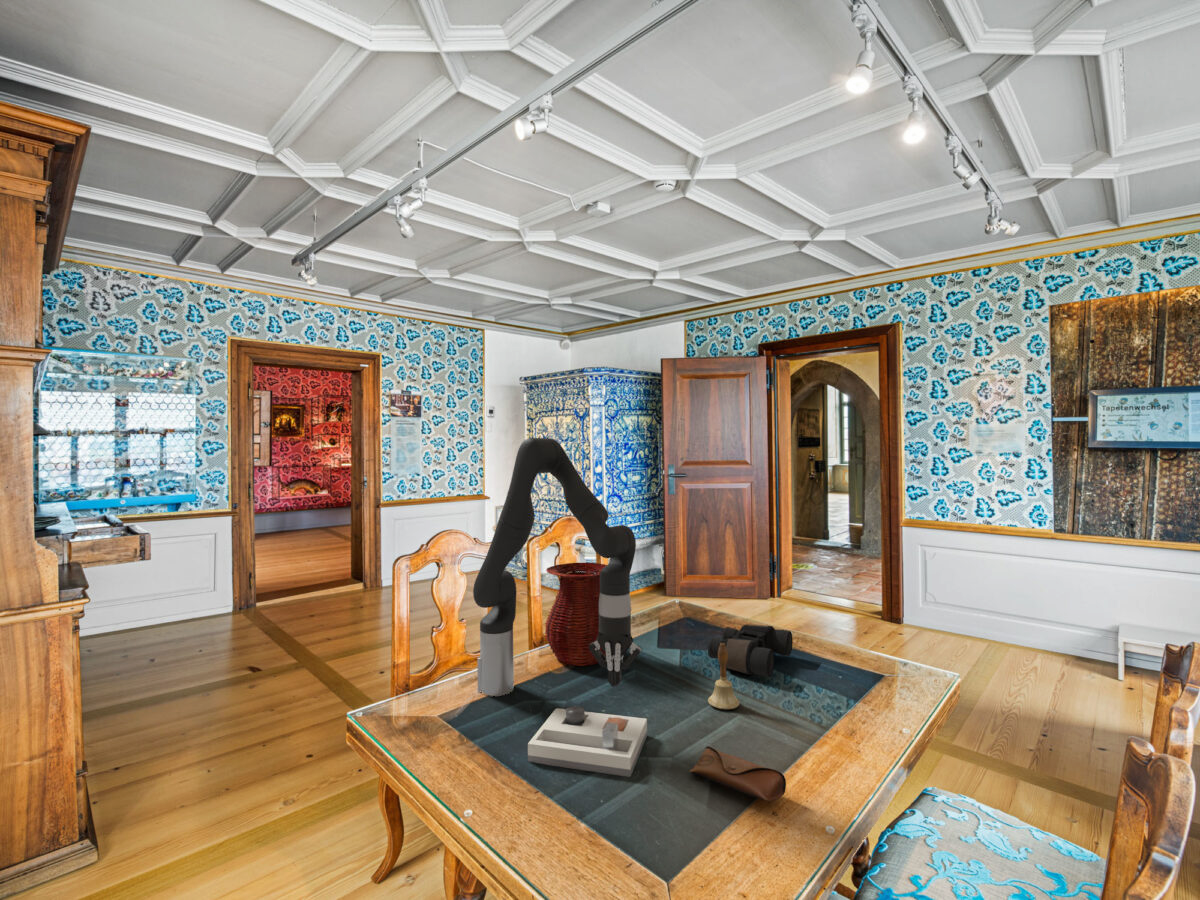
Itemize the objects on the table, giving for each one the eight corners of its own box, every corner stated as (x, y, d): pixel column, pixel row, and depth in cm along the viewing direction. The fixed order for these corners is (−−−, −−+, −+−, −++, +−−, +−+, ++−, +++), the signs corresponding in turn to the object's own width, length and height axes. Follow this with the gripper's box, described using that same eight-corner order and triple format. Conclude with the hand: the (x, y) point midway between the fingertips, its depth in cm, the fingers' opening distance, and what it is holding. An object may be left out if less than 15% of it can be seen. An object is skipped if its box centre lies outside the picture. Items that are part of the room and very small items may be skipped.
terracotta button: (604, 736, 131) (604, 724, 131) (609, 727, 135) (609, 716, 136) (622, 738, 130) (622, 727, 130) (627, 729, 134) (627, 718, 134)
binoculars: (767, 684, 165) (767, 650, 165) (701, 670, 176) (701, 638, 176) (793, 655, 189) (793, 625, 189) (733, 644, 200) (733, 616, 200)
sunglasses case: (685, 770, 117) (695, 737, 120) (698, 781, 121) (707, 748, 125) (770, 802, 106) (778, 765, 109) (781, 813, 110) (789, 776, 113)
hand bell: (740, 710, 148) (739, 649, 148) (707, 708, 150) (707, 647, 150) (738, 697, 156) (738, 639, 156) (708, 695, 158) (707, 637, 158)
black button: (563, 724, 134) (563, 713, 134) (569, 715, 138) (569, 705, 138) (581, 726, 133) (581, 715, 133) (586, 717, 137) (586, 707, 137)
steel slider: (602, 756, 122) (602, 730, 122) (607, 747, 126) (607, 722, 126) (613, 758, 122) (613, 732, 122) (617, 749, 125) (617, 723, 125)
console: (527, 762, 124) (527, 743, 124) (556, 724, 142) (556, 708, 142) (630, 777, 118) (630, 757, 118) (647, 735, 135) (646, 718, 135)
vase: (575, 643, 202) (574, 559, 203) (630, 656, 189) (629, 566, 189) (530, 663, 183) (529, 570, 184) (588, 679, 170) (587, 579, 170)
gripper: (583, 613, 131) (583, 688, 131) (639, 618, 128) (639, 695, 128) (592, 605, 138) (592, 676, 138) (645, 609, 135) (645, 682, 135)
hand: (614, 685), depth 133 cm, fingers closed
